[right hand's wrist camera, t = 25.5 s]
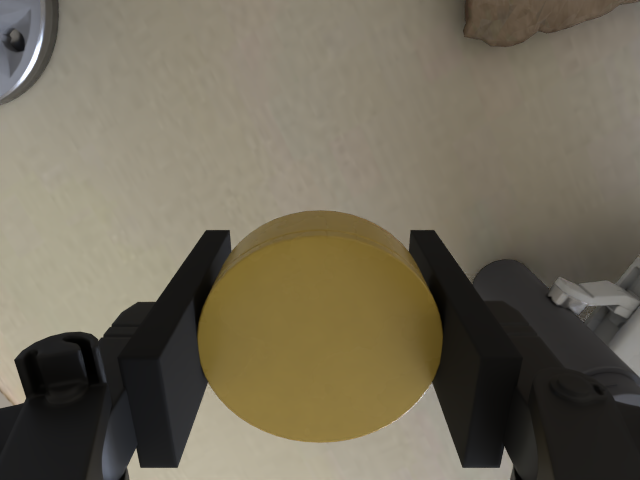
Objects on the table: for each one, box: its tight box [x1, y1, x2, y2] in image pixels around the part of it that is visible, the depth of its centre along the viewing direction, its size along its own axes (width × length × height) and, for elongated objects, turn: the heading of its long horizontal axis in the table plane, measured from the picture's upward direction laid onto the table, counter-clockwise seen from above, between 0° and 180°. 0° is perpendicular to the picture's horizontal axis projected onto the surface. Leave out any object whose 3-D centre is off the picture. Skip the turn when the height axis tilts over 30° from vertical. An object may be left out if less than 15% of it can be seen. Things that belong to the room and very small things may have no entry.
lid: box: [197, 210, 443, 443], centre depth 11 cm, size 6×6×2 cm
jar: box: [473, 260, 640, 406], centre depth 29 cm, size 5×5×15 cm
